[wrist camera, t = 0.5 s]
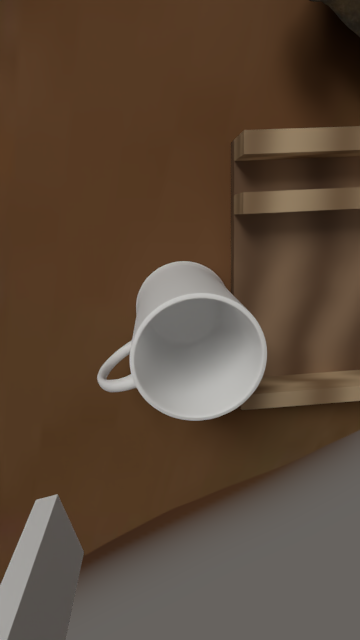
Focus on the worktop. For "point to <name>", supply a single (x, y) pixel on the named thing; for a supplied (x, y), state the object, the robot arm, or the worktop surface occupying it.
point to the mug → (190, 345)
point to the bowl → (346, 12)
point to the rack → (299, 259)
